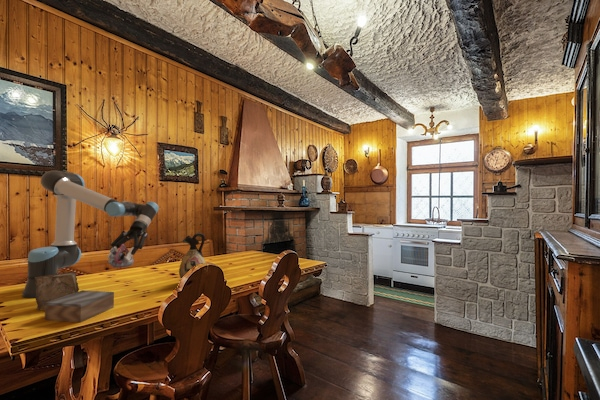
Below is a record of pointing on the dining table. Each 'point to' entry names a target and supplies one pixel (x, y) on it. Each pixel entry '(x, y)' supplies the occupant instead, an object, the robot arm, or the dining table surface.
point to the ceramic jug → (192, 254)
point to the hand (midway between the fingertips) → (118, 259)
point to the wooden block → (79, 306)
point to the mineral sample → (54, 287)
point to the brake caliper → (120, 257)
